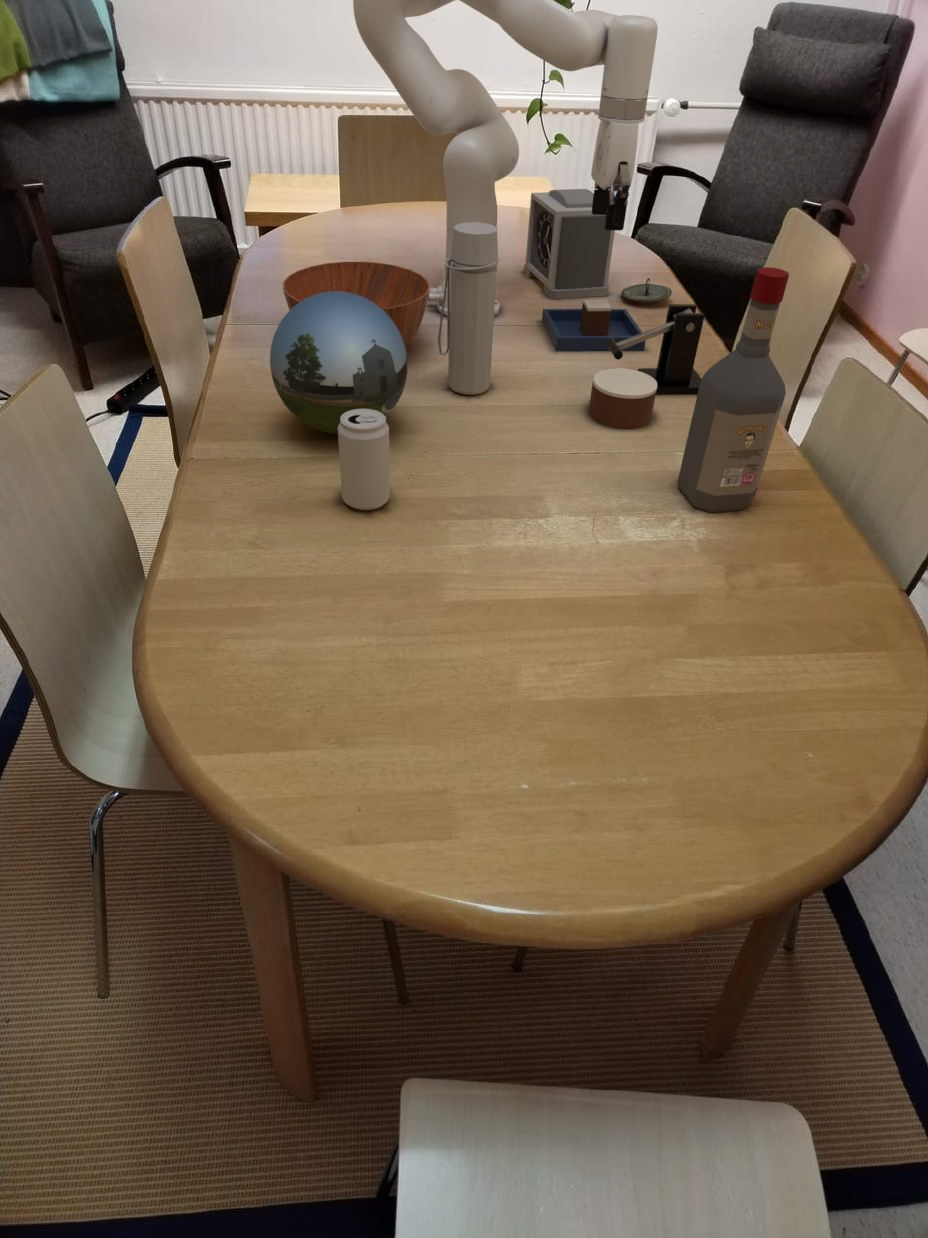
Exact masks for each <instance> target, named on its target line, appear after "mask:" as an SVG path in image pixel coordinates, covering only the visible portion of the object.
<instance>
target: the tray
mask: <svg viewBox="0 0 928 1238" xmlns="http://www.w3.org/2000/svg"><path fill="white" fill-rule="evenodd" d="M541 313H542V314H541V323H542V325H543V327H544V329H545V332H546V334H547V336H548V337H549V340H550V342H551V343H552V346H553V348H554V350H555V351H556V352H600V351H601V352H604V351H605V352H606V351H607V352H608V351H609V352H611V351H610V349H609V348H608V346H607V344H606V340H607V338H609V337H612V338H613V339H614V340H615V342H616V343H618V342H620V341H623V340H625V339H628V338H630V337H633V336H635V335H638V334H641V333H643V331H642V329H641V328H640V327H639V325H638V324H637V323H636V321H635V319H634V318H633V317H632V316H631V314H630V313H629V311H628V310H627V308H612V309H611V316H610V322H609V329H608V336H583V334H582V333H581V331H580V321H581V313H582V308H543V309H542V312H541ZM646 341H647V340H645V341H643V342H640V343H638V344H635V345H632V346H630V347H627V348H625V349H622V350H621V351H622V352H623V351H628V352H629V351H630V352H631V351H645V346H646Z"/></svg>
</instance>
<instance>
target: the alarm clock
mask: <svg viewBox="0 0 928 1238" xmlns="http://www.w3.org/2000/svg"><path fill="white" fill-rule="evenodd" d="M593 196H594V192H593V191H591V190H590V189H588V188H572V189H571V188H570V189H568V188H567V189H551V190H549V191H544V192H543V191H541V192H531V193H530V203H529V204H530V206H529V216H528V226H527V227H528V228H527V229H528V230H527V239H526V241H527V242H526V253H525V264H524V266H523V274H525V275H526V277H528V278H529V279H530V278H537V279H538V280H539V281H540V282H541V283H542V284H543V293H544V294H545V295H546V296H547V297H548V298H550V299H552V300H553V299H554V300H560V299H561V300H562V299H576V298H592V297H594V298H595V297H606V296H608V293H609V285H608V281H609V274H610V267H611V261H612V255H613V246H614V239H615V234H616V230H606V229H605V220H606V215H593V214H592V204H593Z"/></svg>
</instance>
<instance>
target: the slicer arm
mask: <svg viewBox="0 0 928 1238" xmlns="http://www.w3.org/2000/svg"><path fill="white" fill-rule="evenodd" d="M679 313H693V312H692V311H691V310H690V309H687V310H684V311H682V312H679ZM676 314H677V313H676ZM676 314H674V315H673V318H674V321H671V322H669V323H666V322H665V323H663V324H661V325H658V326H656V327H654V328H651V329H649V330H645V331H644V332H643V331H642V332H643V333H641V334H638V335H635V336H633V337H630V338H628V339H625V340H623V341H620V342H618V343H616V342H615V340H614V339H613V338H612V337H609V338H607V340H606V344H607V346H608V348H609V349H610V351H609V352H611V355H612V356H613V357H614V359H615V360H622V358H623V357H624V353H623V351H621V350H622V349H625V348H627V347H630V346H632V345H635V344H638V343H640V342H643V341H645V340H646V341H648V340H650V339H652V338H656V337H658V336H661V335H663V334H664V333H666V332H668V331H671V330H673V329H674V324H675V319H676ZM646 341H645V342H646Z"/></svg>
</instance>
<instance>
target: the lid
mask: <svg viewBox="0 0 928 1238" xmlns="http://www.w3.org/2000/svg"><path fill="white" fill-rule="evenodd" d="M650 281H651V279H650V278H649V277H648V278H647V279H646V280H645V283H639V284H634V285H630V286H627V287H626V288H624V289H622V290H621V293H620V295H621V297H622V298H624V299H626V300H627V301H628V302H632V303H638V304H650V303H657V302H662V301H664V300H667V299H669V298H670V297H671V296H672V294H673V291H672V289H671V288H670V287H667V286H665V285H660V284H654V283H650Z"/></svg>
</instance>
